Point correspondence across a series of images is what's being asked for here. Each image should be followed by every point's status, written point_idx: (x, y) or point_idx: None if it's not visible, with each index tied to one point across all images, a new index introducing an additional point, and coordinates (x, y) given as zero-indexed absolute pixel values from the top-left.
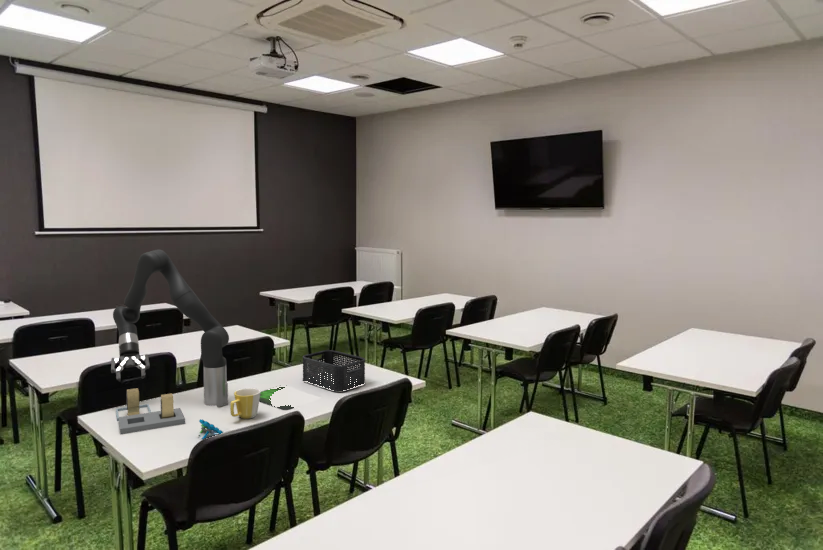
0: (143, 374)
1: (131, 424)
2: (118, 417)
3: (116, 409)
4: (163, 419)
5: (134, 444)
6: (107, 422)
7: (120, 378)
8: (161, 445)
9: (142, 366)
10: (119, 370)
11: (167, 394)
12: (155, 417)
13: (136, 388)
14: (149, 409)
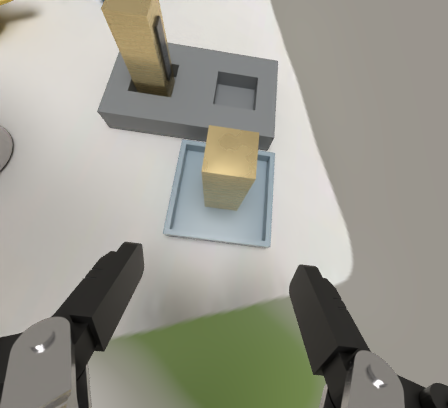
0: (118, 249)
1: (251, 71)
2: (270, 159)
3: (269, 236)
4: (173, 58)
5: (251, 35)
6: (292, 183)
7: (302, 265)
8: (209, 6)
9: (45, 351)
10: (348, 368)
11: (121, 6)
12: (186, 80)
13: (209, 170)
14: (177, 175)
